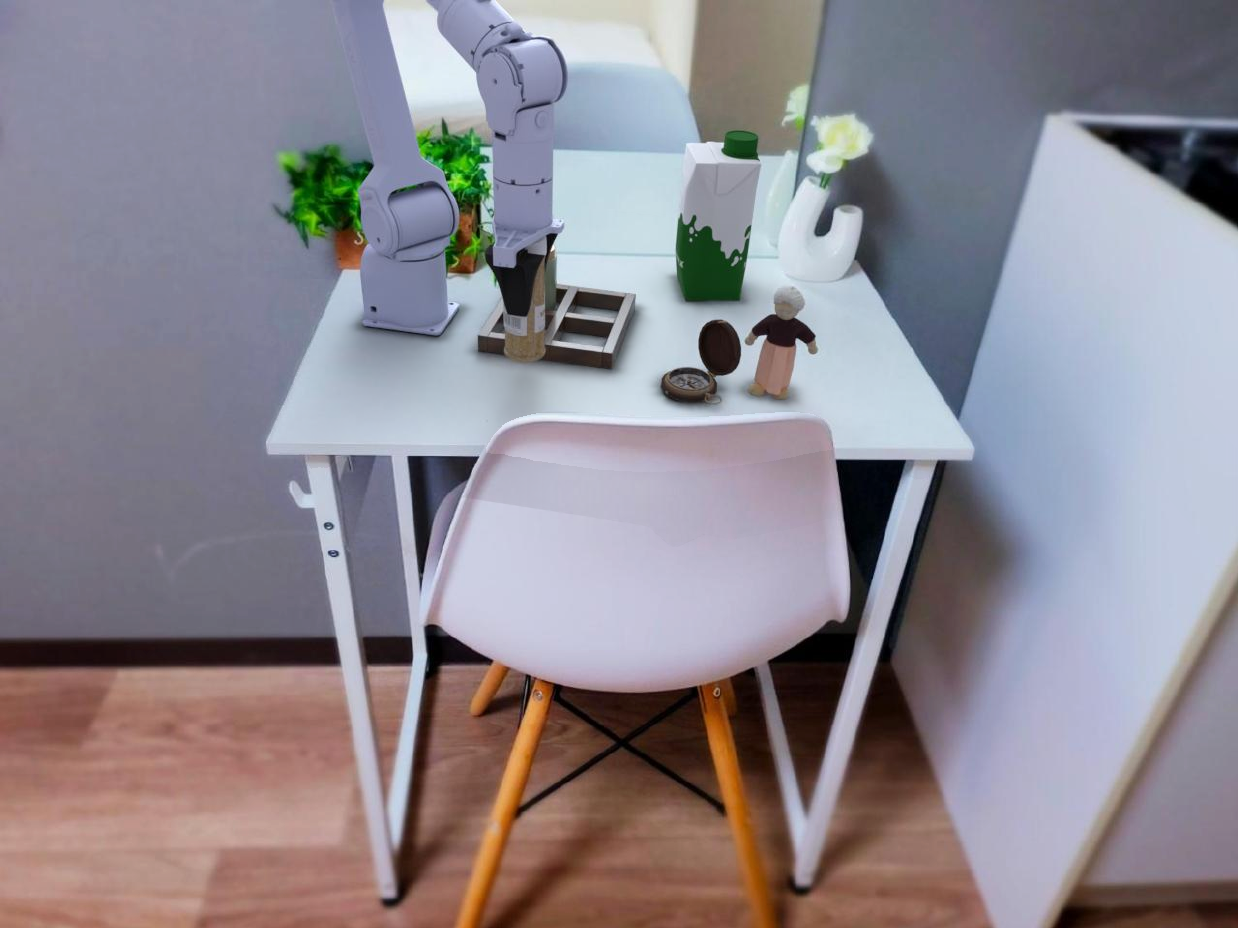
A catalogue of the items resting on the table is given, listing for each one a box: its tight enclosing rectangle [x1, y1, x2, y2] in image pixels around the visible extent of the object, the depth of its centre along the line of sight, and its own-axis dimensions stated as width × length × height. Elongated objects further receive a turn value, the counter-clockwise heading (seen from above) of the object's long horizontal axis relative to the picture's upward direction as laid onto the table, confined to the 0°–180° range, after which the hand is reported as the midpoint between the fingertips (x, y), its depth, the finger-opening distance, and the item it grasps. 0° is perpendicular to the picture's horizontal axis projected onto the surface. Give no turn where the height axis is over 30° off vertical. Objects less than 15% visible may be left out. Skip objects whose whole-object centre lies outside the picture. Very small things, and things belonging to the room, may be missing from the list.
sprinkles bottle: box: [503, 236, 547, 364], centre depth 102 cm, size 5×5×14 cm
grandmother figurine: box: [744, 285, 819, 400], centre depth 104 cm, size 8×4×13 cm, turn 87°
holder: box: [477, 283, 637, 370], centre depth 117 cm, size 16×16×2 cm
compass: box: [660, 318, 742, 405], centre depth 105 cm, size 8×8×7 cm
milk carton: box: [675, 130, 762, 301], centre depth 123 cm, size 9×9×20 cm
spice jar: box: [544, 244, 558, 311], centre depth 119 cm, size 4×4×8 cm
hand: (523, 304), depth 102 cm, fingers closed on sprinkles bottle, 4 cm apart
